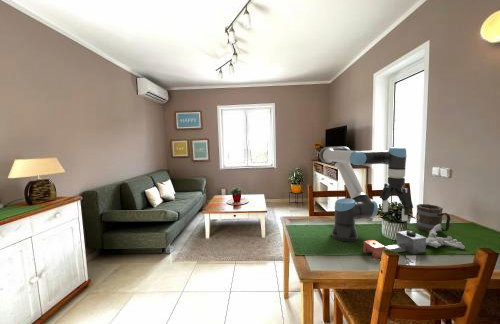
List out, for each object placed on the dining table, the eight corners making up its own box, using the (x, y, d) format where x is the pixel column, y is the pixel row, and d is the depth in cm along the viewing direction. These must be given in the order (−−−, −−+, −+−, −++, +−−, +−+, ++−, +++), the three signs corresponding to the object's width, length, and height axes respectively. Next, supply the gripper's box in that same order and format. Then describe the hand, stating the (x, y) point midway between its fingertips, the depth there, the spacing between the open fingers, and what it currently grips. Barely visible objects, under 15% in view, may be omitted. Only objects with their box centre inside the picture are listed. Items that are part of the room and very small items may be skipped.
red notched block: (372, 250, 119) (373, 239, 119) (384, 257, 111) (385, 246, 111) (363, 251, 118) (363, 240, 118) (374, 259, 110) (374, 247, 110)
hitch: (408, 243, 126) (408, 227, 125) (425, 252, 116) (426, 234, 115) (379, 247, 122) (379, 231, 121) (394, 256, 112) (395, 239, 111)
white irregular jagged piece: (410, 222, 134) (444, 223, 132) (408, 234, 136) (442, 236, 134) (432, 238, 115) (473, 240, 114) (430, 252, 117) (470, 254, 115)
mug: (410, 225, 152) (411, 204, 150) (427, 224, 154) (428, 203, 153) (439, 237, 132) (440, 213, 131) (457, 235, 135) (459, 211, 133)
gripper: (424, 181, 102) (421, 224, 105) (385, 172, 127) (384, 208, 129) (409, 181, 102) (406, 225, 104) (373, 173, 126) (372, 209, 128)
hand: (394, 216), depth 117 cm, fingers open, 13 cm apart
